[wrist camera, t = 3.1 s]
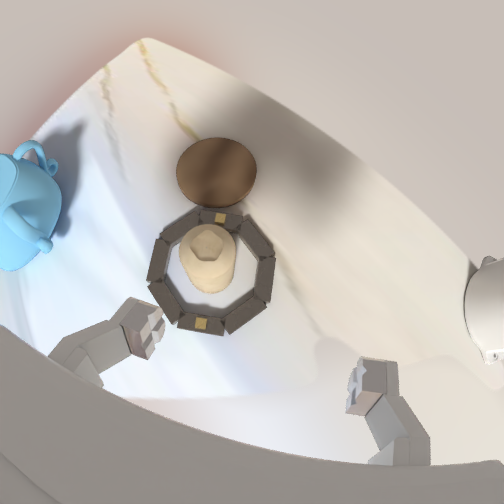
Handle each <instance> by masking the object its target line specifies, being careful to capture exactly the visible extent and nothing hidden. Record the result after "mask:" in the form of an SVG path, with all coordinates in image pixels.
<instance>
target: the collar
mask: <svg viewBox="0 0 504 504" xmlns="http://www.w3.org/2000/svg"><path fill="white" fill-rule="evenodd" d="M242 219H243V216H239V215H233V214H227V213H220V212H214V211H207V210H201V212H200V216H199V215H198V214H197V212H196V211H194V212H193V213H191V214H189V215H188V216H186V217H185V218H183V219H182V220H180V221H178V222H177V223H175V224H174V225H172V226H171V227H169V228H168V229H166V230H165V231H163V232H162V233H160V235H161V237H162V239H163V240H161V239H156V241H155V245H154V249H153V253H152V258H151V262H150V266H149V270H148V275H147V279H146V281H147V282H148V283H152V284H150V285H149V286H147V287H148V289H149V290H150V292H151V293H152V295H153V297H154V298H155V300H156V301H157V303H158V304H159V306H160V307H161V308H162V310H163V312H164V313H165V315H166V316H167V318H168V319H169V321H170V322H171V324H172V325H174V324H176V323H177V322H178V325H177V328H179V329H184V330H190V331H195V332H201V333H206V334H212V335H218V336H223V335H224V329H225V330H226V331H227V332H228V334H229V335H230V334H232V333H233V332H234V331H236V330H237V329H239V328H240V327H241V326H243V325H244V324H245V323H247V322H248V321H250V320H251V319H252V318H254V317H255V316H256V315H258V314H259V313H260V312H262V311H263V310H264V309H266V308H267V306H266V305H265V304H264V303H270V300H271V293H272V285H273V277H274V270H275V262H276V258H272V257H271V256H273V254H274V251H273V250H272V249H271V248H270V246H269V245H268V244H267V242H266V241H265V240H264V239H263V237H262V236H261V235H260V234H259V232H258V231H257V230H256V229H255V227H254V226H253V225H252V223H251V222H250V221H249V220H248V219H247V220H246V221H244V222H243V223H242ZM203 224H212V225H217V226H219V227H222V228H223V229H225V230H226V231H227V232H230V233H237V235H238V236H239V237H240V238H241V240H242V241H243V242H244V244H245V245H246V246H247V248H248V249H249V250H250V252H251V253H252V254H253V255H254V257H255V258H256V259H257V261H258V267H257V274H256V281H255V287H254V294H253V297H252V298H250V299H249V300H247V301H246V302H245V303H243V304H242V305H240V306H239V307H238V308H236V309H235V310H233V311H232V312H231V313H229V314H228V315H226V316H225V317H224V318H216V317H210V316H205V315H199V314H193V313H188V312H184V311H183V309H182V308H181V306H180V305H179V303H178V302H177V300H176V299H175V297H174V296H173V294H172V293H171V291H170V290H169V288H168V287H167V285H166V284H165V277H166V273H167V268H168V263H169V259H170V254H171V250H172V247H174V246H175V245H177V244H178V243H180V242H181V241H182V239H183V237H184V236H185V234H186V233H187V232H188V231H190V230H191V229H192V228H194V227H196V226H199V225H203Z"/></svg>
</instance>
